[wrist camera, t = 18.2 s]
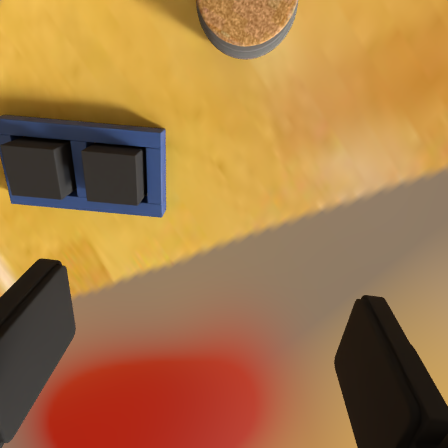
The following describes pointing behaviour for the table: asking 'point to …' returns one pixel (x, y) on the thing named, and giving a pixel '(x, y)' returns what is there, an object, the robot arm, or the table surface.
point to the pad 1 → (39, 167)
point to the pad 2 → (115, 173)
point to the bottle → (246, 24)
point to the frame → (80, 139)
